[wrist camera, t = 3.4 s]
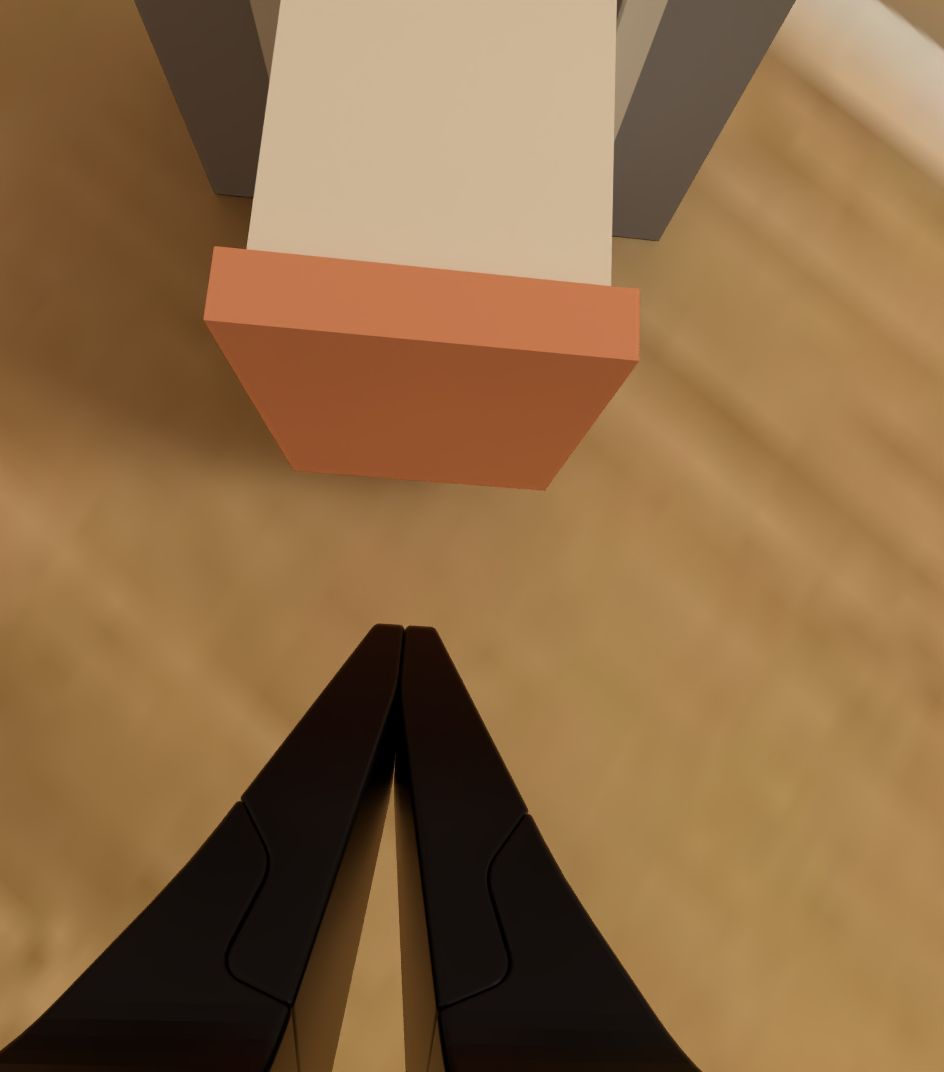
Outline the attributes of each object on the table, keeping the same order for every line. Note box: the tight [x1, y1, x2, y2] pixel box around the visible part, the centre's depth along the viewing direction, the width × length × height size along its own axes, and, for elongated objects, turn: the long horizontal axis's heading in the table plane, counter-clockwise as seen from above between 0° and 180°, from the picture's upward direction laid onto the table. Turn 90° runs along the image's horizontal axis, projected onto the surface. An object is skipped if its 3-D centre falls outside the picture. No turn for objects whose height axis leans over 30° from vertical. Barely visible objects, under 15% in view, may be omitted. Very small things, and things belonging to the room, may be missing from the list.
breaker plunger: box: [203, 0, 640, 491], centre depth 13 cm, size 10×5×6 cm, turn 177°
